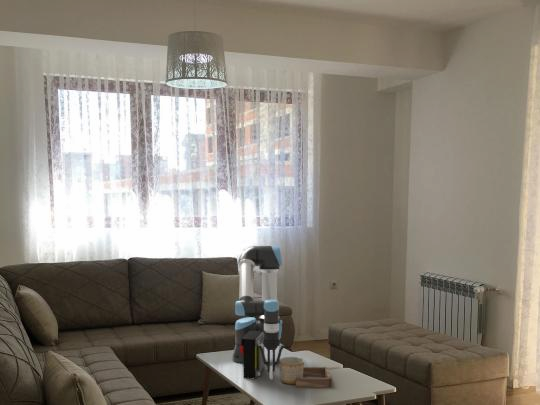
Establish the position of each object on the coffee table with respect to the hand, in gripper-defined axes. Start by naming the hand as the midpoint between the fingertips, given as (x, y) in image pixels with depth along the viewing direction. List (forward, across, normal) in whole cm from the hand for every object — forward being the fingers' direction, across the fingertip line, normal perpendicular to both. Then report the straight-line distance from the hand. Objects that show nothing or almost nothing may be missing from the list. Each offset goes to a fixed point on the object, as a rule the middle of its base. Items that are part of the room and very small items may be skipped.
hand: (271, 378), depth 272 cm
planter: (+2, +10, +1) cm, 11 cm away
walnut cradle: (+2, +20, +2) cm, 20 cm away
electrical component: (+2, -9, +14) cm, 17 cm away
